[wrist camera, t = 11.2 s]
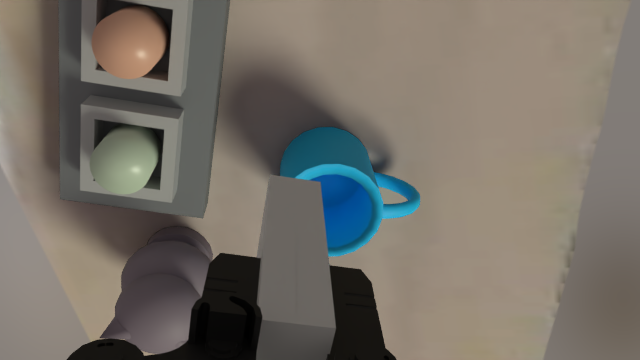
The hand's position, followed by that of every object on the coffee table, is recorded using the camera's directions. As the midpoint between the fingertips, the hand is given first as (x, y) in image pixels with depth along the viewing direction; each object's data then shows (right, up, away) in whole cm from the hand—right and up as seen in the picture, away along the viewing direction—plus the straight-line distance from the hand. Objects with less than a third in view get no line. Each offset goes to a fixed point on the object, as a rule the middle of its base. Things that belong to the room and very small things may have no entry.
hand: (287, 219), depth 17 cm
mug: (+3, +2, +35) cm, 36 cm away
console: (-13, +13, +29) cm, 34 cm away
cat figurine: (-12, -6, +38) cm, 41 cm away
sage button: (-14, +4, +29) cm, 33 cm away
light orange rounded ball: (-12, +12, +26) cm, 31 cm away
